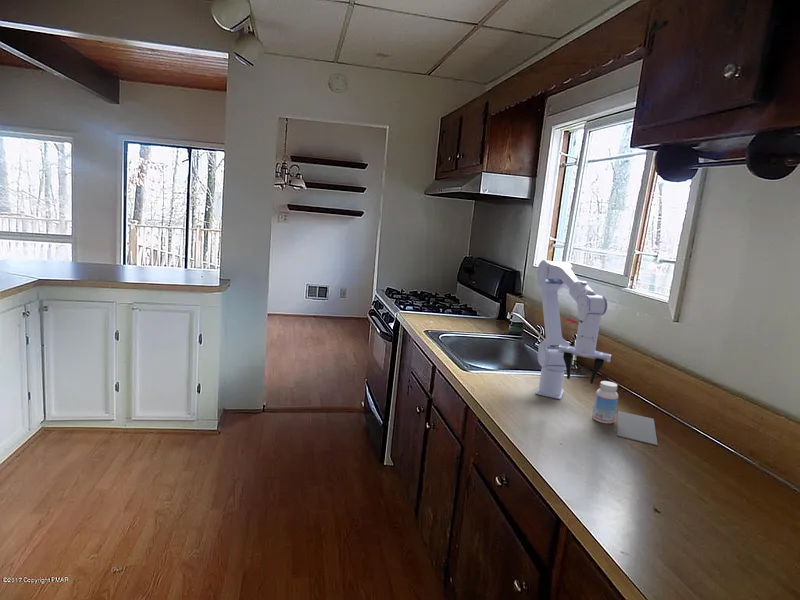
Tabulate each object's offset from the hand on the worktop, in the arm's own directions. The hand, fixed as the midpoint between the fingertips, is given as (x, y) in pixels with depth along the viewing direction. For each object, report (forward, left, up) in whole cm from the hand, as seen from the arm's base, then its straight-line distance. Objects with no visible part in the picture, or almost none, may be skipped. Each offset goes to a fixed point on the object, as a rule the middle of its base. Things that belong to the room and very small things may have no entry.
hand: (579, 380), depth 151 cm
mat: (0, +17, -10) cm, 20 cm away
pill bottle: (0, +8, -11) cm, 13 cm away
